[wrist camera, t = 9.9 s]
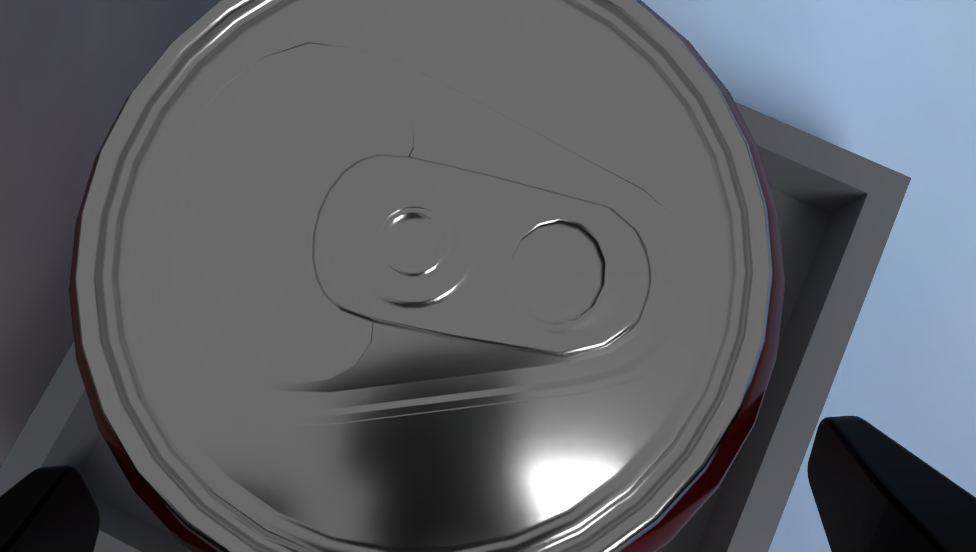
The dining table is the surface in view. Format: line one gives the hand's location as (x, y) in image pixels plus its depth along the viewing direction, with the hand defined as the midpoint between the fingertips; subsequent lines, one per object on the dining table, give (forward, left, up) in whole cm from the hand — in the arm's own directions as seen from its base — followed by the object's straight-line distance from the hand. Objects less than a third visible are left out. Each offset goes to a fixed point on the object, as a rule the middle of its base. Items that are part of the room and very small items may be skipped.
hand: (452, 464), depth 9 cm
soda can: (+1, -2, -10) cm, 10 cm away
